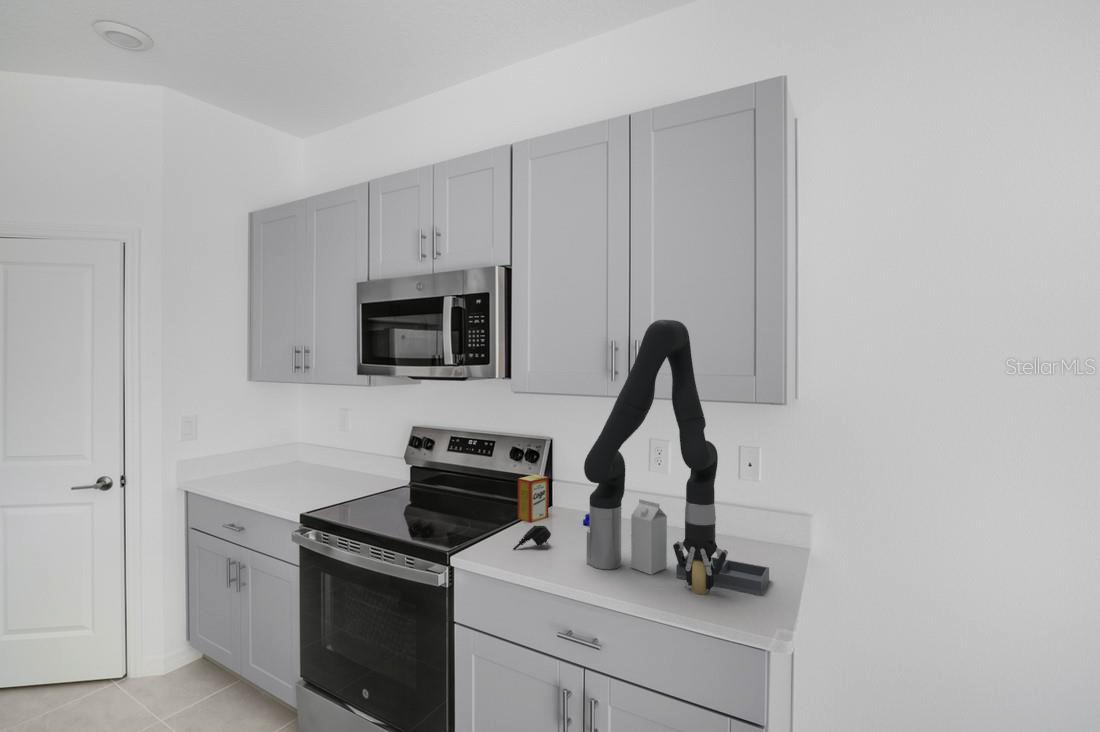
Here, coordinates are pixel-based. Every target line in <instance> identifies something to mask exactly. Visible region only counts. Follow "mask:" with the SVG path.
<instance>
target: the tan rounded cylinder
mask: <svg viewBox="0 0 1100 732" xmlns="http://www.w3.org/2000/svg"><path fill="white" fill-rule="evenodd" d="M706 575H707V571H706V567H705V566H704V562H703V561H701V560H699V559H698V560H695V559H693V561H692V586H691V592H692V593H693V594H696V595H707V594H708V593H709V590H707V589H706Z"/></svg>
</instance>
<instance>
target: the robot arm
mask: <svg viewBox="0 0 1100 732" xmlns="http://www.w3.org/2000/svg"><path fill="white" fill-rule="evenodd" d="M666 359H667V361H668V363H669V367H670V371H671V379H672V380H671V381H672V384H671V403H672V408H673V413H674V415H675V420H676V423H677V427H678V431H679V436H678V437H679V446H680V453H681V457H682V461H683V462H684V464H685V465H686V467H687V468H689V469H690V475H689V478H688V479H687V481H686V486H685V507H684V539H683V541H676V542H675V543H674V544H673V545H672V547H673V550H674V553H675V557H676V561H677V564H679V566H680V567H683V568H685V569H686V581H685V582H686V583H687V584H688V586H690V587H692V561H693V559H695V560H698V559H699V560H701V561H703V562H704V566H705V567H706V571H707V575H706V589H707V590H708V591H710V590H711V589H712V588H713V584H714V581H713V580H714V574H716V575H718V574H719V572H720V571H721V570H722V567H723V564H724V562H725V560H727V556H728V550H726V549H721V548H719V547H718V545H717V543H716V542H717V541H716V521H717V519H716V518H717V516H716V506H715V491H716V490H715V482H716V476H717V469H718V463H719V462H718V459H719V457H718V456H719V455H718V450H717V448H716V446H715V445H714V443H712V442H711V441H709V440H706V435H705V428H706V425H707V424H706V418H705V414H704V410H703V407H702V403H701V401H700V397H699V392H698V387H697V384H696V377H695V371H694V367H693V357H692V349H691V338H690V334H689V331H688V328H687V326H686V325H685V324H684V323H683V322H681V321H679V320H674V319H658V320H655V321H653V322H652V323H651V324H649V326H648V328H646V331H645V333H644V335H643V338H642V340H641V343H640V346H639V348H638V352H637V354H636V358H635V360H634V364H633V366H632V367H631V369H630V371H629V373H628V375H627V378H626V380H625V382H624V384H623V386H622V388H621V390H620V392H619V394H618V396H617V398H616V400H615V402H614V405H613V407H612V409H611V412H610V414H609V416H608V417H607V420H606V421H605V423H604V426H603V428H602V430H601V432H600V434H599V436H598V437H597V439H596V441H595V442H594V443H593V445H592V447H591V448H590V449H589V452H588V454H587V455H586V457H585V460H584V463H583V464H584V465H583V471H584V475H585V478H586V479H587V480H588V481H589V482H591V483H593V484H598V485H597V486H596V488H595V490H593V492H591V494H590V496H589V514H590V527H589V529H588V530H586V565H589V566H590V567H593V568H595V569H599V570H615V569H618V568H620V567H621V566H622V501H623V498H624V495H625V489H626V487H625V483H626V461H625V458H624V456H623V454H622V453H621V452H620V451H619V450H620V449H621V447H622V446H623V445H624V443H625V442H626V441H627V440H629V438H630V437H632V435H633V434H634V433H636V432H637V430H638V429H639V428H640V427H641V425H642V424H643V423H644V421H645V419H646V417H647V415H648V414H649V412H650V410H651V408H652V406H653V404H654V403H653V402H654V399H655V391H656V380H657V376H658V374H659V372H660V370H661V367H662V366H663V364H664V362H665V361H666ZM684 549H685V551H686V552H687V554H689V556H688V560H687V562H686V560H685V554H684ZM715 553H716V558H719V560H718V562H717V565H716V568H714V567H713V560H712V557H713V555H714V554H715Z"/></svg>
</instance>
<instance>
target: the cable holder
mask: <svg viewBox="0 0 1100 732" xmlns="http://www.w3.org/2000/svg"><path fill="white" fill-rule="evenodd" d="M584 517H585V518H583V519H582V525H583V526H585V527H589V528H590V512H589V513H586V514H585V515H584Z"/></svg>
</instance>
